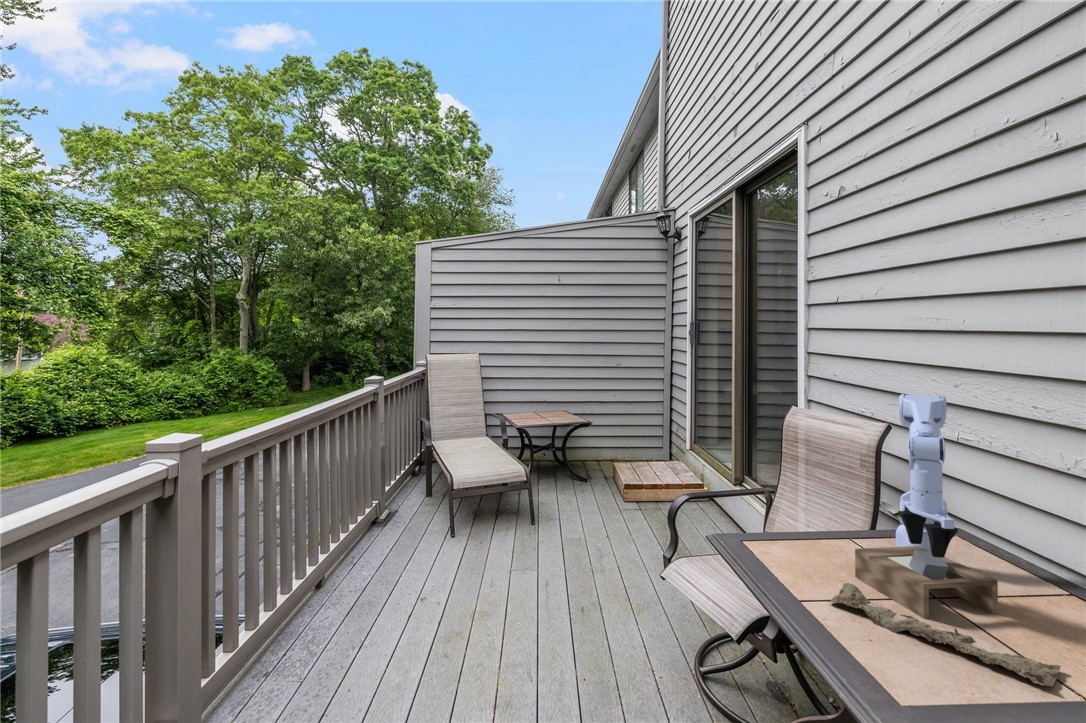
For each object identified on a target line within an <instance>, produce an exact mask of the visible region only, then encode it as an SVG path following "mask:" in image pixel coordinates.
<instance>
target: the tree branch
mask: <svg viewBox="0 0 1086 723" xmlns="http://www.w3.org/2000/svg"><path fill="white" fill-rule="evenodd" d="M827 603H833V604H837V603H838V604H842V605H845V606H846V607H852V608H854V609H859V610H863V612H864V614H866V616H867V617H869V618H870V619H871V621H872V623H874V624H873V625H875V624H876V625H875V626H877V625H878V626H880V627H879V628H882V627H883V628H882V629H885V628H886V629H885V630H888V631H889V630H890V631H889V632H891V633H900V632H904V631H906V630H907V631H909V633H910V634H912V635H915V636H917V637H919V636H920V637H922V638H925V640H927V641H928V642H933V644H935V643H937V644H938V643H939V644H941V643H942V644H943V645H947V644H949V645H950V646H953V648H955V650H956V651H960V652H961V653H963V654H966V655H970V656H971V655H973V656H976V657H978V658H979V659H980V660H981V662H983V663H984V664H985V663H986V664H987V665H998V666H999V665H1000V666H1001V667H1003V668H1004V669H1006V670H1009V671H1011V672H1015V673H1016V674H1017V675H1020V676H1021V677H1023V678H1028V679H1029V680H1030V681H1032V683H1034V684H1039V685H1040V686H1047V687H1051V688H1053V687H1054V684H1055V682H1056V681H1057V679H1058V677H1059V672H1060V669H1061V667H1062V665H1059V664H1047V663H1042V662H1039V661H1037V660H1035V659H1033V658H1027V657H1024V656H1022V655H1017V654H1015V655H1012V654H1010V653H1005V652H1003V653H1000V652H995V651H994V652H991V651H993V649H992V648H991V651H988V650H987V649H985V648H980V647H977V646H975V645H972V643H976V641H975V639H974V637H972V636H971V635H964V634H962V633H960V632H959V631H958V630H957V628H953V629H954V630H953V632H952V631H948V630H942V629H938V628H932V626H931V625H930V624H928V623H927V622H926V623H925V622H924V621H922V620H921V621H920V620H919V619H918V618H916V617H914V616H912V615H906V614H899V616H900V617H904V618H905V619H899V620H893V619H894V618H895V617H896V615H897V612H894V611H893V610H891V609H889V608H886V607H884V606H880V607H878V606H874V605H873V606H874V607H873V606H871V605H868V604H870V603H872V602H871V601H870V600H869V599H867V597H866V596H865V595H864V594H863V592H862V591H861V590H860V589H859V587H858V586H856V585H855V584H853V583H850V582H845V583H843V585H842V587H841V589H840V590H839V593H838V594H835V595H834V596H833V597H832V598H831V600H830V601H827ZM878 626H877V627H878ZM958 632H959V633H958Z"/></svg>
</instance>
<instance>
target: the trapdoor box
mask: <svg viewBox="0 0 1086 723" xmlns="http://www.w3.org/2000/svg"><path fill="white" fill-rule="evenodd" d="M915 550H920V551H928V552H931V551H929V550H927V549H925V548H923V547H920V546H905V547H896V546H887V547H868V548H867V547H866V548H864V547H863V548H854V560H855V561H854V565H855V566H854V567H855V570H854V572H855V573H854V577H855V578H856V577H857V578H858V579H857V578H856V579H857V580H859V579H860V580H859V581H861V582H862V581H863V583H864V584H865V585H868V586H869V587H871V588H872V589H874V590H875V591H877V592H879V593H881V594H883V595H884V596H886V597H887V598H890V600H892V601H894V602H895V603H897V604H899V605H901V606H902V607H905V609H908V610H909V611H911V612H913V613H914V614H916V615H917V616H919V617H920V618H922V619H928V618H930V600H929V599H930V592H929V591H930V590H934V589H943V590H945V591H947V592H949V593H951V594H953V595H955V596H957V597H959V598H960V599H963V600H964V601H967V602H969V603H970V604H972V605H974V606H976V607H978V608H980V609H982V610H984V611H986V612H988V613H990V614H994V615H995V613H998V614H999V596H998V595H999V590H998V589H999V586H998V585H999V583H998V582H999V581H998V579H996V578H994V577H992V576H989V575H986V574H984V573H981V572H980V571H978V570H975V569H973V568H970V567H968V566H966V565H964V564H961V563H959V562H957V561H955V560H952V559H950V558H948V557H947V556H946V557H944V558H942V560H943V561H944V562H945V563H946V564H947V565H948V567H949V568H948V571H947V573H946V575H945V576H946V577H947V578H948V579H946V580H931V579H929V578H927V577H925V576H923V575H921V574H919V573H917V572H915V571H913V570H911V569H909V568H907V567H905V566H903V565H901V564H899V563H897V562H895V561H893V560H891V559H889V558H887V557H905V556H913V554H914V551H915Z"/></svg>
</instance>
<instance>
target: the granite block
mask: <svg viewBox="0 0 1086 723" xmlns="http://www.w3.org/2000/svg"><path fill="white" fill-rule="evenodd" d="M909 566H910V567H911V569H912V570H913V571H915V572H917V573H919V574H921V575H923V576H925V577H927V578H929V579H931V580H944V578H945V575H946V573H947V571H948V568H949V567H948V565H947V564H946V563H945V562H944V561H943V560H942V558H941V557H933V556H932V554H931V552H928V551H920V550H915V551H914V554H913V556H912V559H911V561H910V564H909Z"/></svg>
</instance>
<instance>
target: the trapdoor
mask: <svg viewBox="0 0 1086 723" xmlns="http://www.w3.org/2000/svg"><path fill="white" fill-rule="evenodd" d="M887 558H889V559H891V560H893V561H895V562H897V563H899V564H901V565H903V566H905V567H907V568H909V569H911V567H910V566H909V564H910V561H911V559H912V556H905V557H887ZM911 570H912V569H911ZM946 579H948V578H947V577H946V576H945V578H944V580H946Z"/></svg>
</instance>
